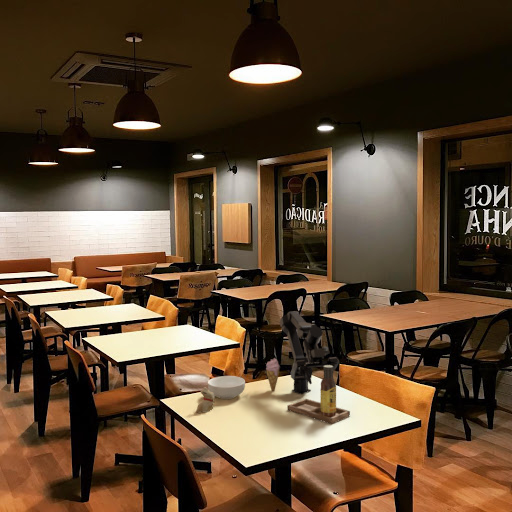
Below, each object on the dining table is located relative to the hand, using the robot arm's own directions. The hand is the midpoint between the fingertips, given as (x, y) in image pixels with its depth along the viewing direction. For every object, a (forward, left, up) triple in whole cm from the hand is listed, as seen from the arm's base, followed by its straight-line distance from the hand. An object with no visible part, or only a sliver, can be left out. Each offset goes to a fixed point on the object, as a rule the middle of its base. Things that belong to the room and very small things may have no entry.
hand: (321, 382), depth 234 cm
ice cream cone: (-5, -33, -12) cm, 35 cm away
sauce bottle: (+4, +7, -11) cm, 14 cm away
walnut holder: (+4, +1, -11) cm, 12 cm away
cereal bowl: (+15, -43, -12) cm, 47 cm away
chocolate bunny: (+33, -36, -12) cm, 50 cm away
